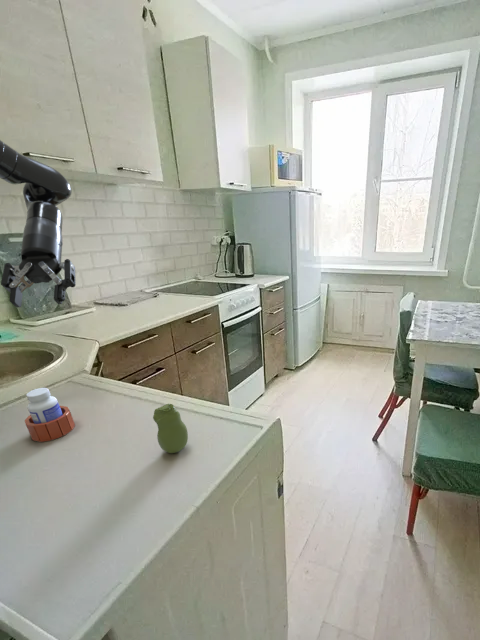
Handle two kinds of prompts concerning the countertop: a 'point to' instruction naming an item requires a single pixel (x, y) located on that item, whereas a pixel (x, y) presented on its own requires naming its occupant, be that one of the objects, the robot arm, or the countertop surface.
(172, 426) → the pear
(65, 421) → the ring holder
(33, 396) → the pill bottle
